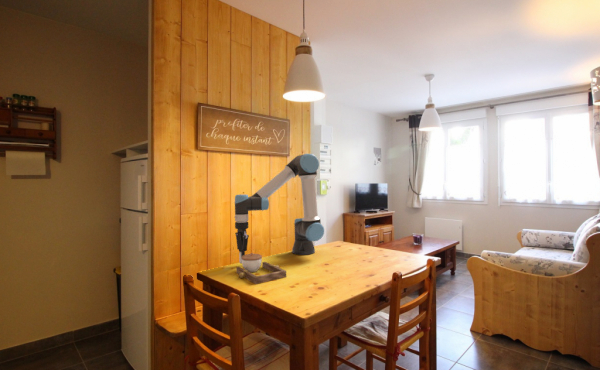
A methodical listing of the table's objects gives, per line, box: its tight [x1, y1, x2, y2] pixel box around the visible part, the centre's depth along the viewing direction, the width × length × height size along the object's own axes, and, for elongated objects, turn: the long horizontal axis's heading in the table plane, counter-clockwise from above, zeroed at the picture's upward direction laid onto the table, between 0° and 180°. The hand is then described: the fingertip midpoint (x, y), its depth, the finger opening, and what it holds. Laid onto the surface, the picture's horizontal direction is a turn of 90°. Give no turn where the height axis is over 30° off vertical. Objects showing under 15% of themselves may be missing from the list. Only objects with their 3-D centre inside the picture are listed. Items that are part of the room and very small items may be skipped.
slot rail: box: [235, 261, 287, 285], centre depth 153 cm, size 22×22×3 cm
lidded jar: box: [241, 252, 263, 273], centre depth 161 cm, size 11×11×9 cm
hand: (242, 262), depth 170 cm, fingers closed
